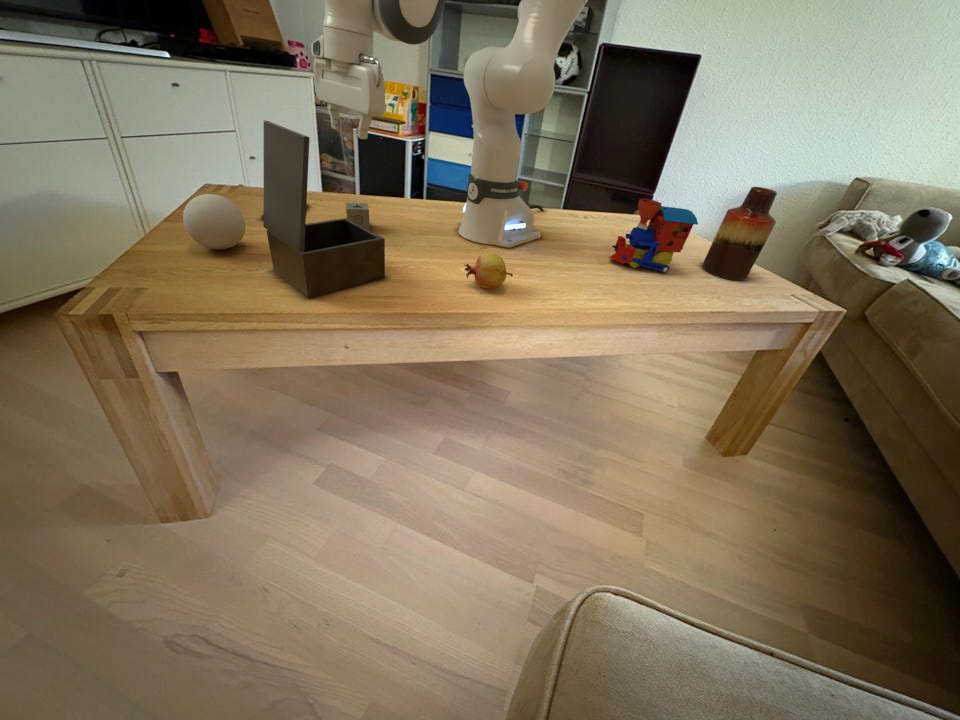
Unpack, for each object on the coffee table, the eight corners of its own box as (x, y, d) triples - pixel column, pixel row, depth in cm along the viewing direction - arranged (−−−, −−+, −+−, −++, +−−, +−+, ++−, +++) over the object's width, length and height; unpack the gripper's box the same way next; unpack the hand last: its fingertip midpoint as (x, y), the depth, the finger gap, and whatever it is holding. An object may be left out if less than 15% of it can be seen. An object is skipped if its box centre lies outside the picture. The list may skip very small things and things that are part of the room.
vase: (692, 264, 109) (729, 182, 97) (722, 262, 112) (760, 184, 101) (725, 282, 101) (769, 195, 89) (755, 280, 105) (801, 196, 93)
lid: (268, 121, 64) (263, 120, 63) (309, 137, 58) (304, 136, 57) (268, 227, 72) (263, 227, 71) (304, 251, 65) (299, 251, 65)
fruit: (512, 252, 83) (463, 248, 81) (521, 257, 77) (468, 253, 75) (507, 286, 85) (460, 283, 83) (516, 293, 79) (465, 290, 77)
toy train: (676, 276, 100) (703, 213, 91) (613, 270, 98) (635, 205, 89) (659, 259, 108) (682, 200, 100) (601, 253, 106) (619, 193, 98)
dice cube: (347, 230, 97) (346, 209, 95) (347, 223, 101) (345, 202, 98) (369, 231, 99) (368, 209, 96) (368, 224, 103) (367, 203, 100)
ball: (196, 260, 76) (179, 204, 70) (187, 241, 82) (172, 188, 76) (255, 253, 81) (245, 201, 75) (243, 236, 87) (233, 186, 81)
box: (348, 255, 86) (346, 217, 81) (385, 278, 80) (384, 238, 75) (273, 271, 76) (266, 229, 72) (308, 298, 70) (302, 254, 65)
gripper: (395, 61, 75) (391, 145, 82) (335, 49, 85) (337, 125, 93) (365, 54, 71) (364, 143, 78) (306, 43, 81) (310, 123, 89)
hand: (349, 133), depth 86 cm, fingers open, 8 cm apart
